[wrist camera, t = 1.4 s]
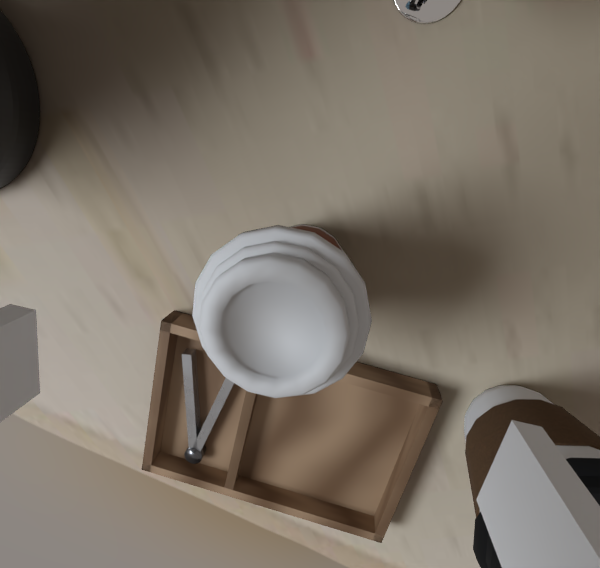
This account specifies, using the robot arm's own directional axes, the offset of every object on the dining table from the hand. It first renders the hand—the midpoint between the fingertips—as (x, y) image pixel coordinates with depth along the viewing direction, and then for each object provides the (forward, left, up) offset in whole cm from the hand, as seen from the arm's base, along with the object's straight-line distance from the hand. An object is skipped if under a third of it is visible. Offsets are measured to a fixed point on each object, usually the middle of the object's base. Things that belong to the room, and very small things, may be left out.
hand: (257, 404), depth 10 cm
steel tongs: (-6, -15, -18) cm, 24 cm away
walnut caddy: (+1, -15, -19) cm, 24 cm away
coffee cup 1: (-1, -1, -19) cm, 19 cm away
